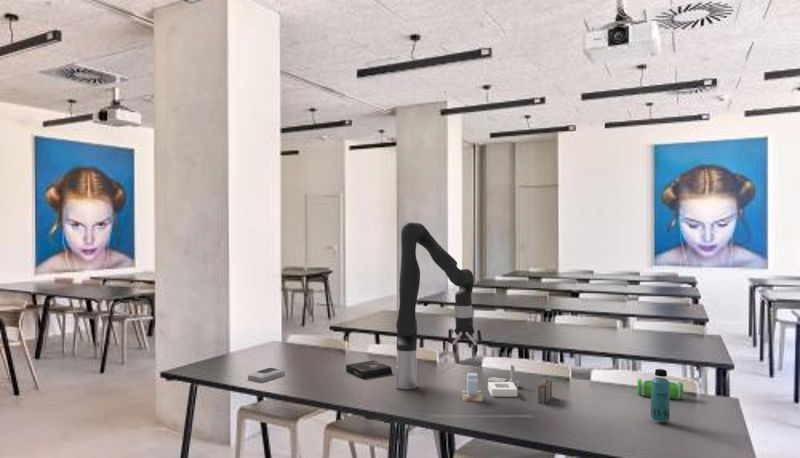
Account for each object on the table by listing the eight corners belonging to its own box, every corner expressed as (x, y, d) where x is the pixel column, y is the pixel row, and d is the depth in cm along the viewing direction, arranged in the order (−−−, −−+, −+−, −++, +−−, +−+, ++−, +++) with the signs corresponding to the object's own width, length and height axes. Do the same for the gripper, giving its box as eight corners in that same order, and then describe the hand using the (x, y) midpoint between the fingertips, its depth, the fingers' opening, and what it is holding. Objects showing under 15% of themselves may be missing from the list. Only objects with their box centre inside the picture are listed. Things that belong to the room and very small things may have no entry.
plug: (467, 399, 236) (468, 375, 236) (466, 396, 240) (467, 373, 240) (477, 399, 236) (477, 375, 236) (476, 396, 240) (476, 373, 240)
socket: (491, 398, 240) (491, 389, 240) (487, 390, 251) (488, 382, 251) (517, 398, 240) (517, 389, 240) (512, 391, 251) (512, 382, 251)
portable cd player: (392, 374, 280) (392, 366, 280) (362, 380, 270) (362, 371, 270) (374, 367, 293) (374, 360, 293) (346, 372, 284) (346, 364, 284)
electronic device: (490, 361, 267) (520, 365, 258) (491, 382, 267) (520, 386, 258) (485, 364, 263) (515, 367, 254) (486, 385, 263) (516, 389, 254)
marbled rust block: (545, 405, 232) (545, 382, 232) (538, 404, 234) (538, 381, 234) (552, 398, 242) (552, 375, 242) (545, 397, 244) (545, 374, 244)
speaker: (681, 396, 244) (681, 379, 244) (683, 401, 237) (683, 383, 237) (637, 392, 250) (637, 375, 250) (638, 397, 243) (638, 380, 243)
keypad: (248, 372, 269) (270, 366, 281) (248, 380, 269) (270, 373, 281) (262, 375, 264) (284, 368, 276) (262, 383, 264) (284, 376, 276)
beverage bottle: (647, 419, 214) (647, 367, 214) (664, 419, 215) (664, 367, 215) (656, 425, 208) (656, 372, 208) (673, 425, 209) (674, 371, 208)
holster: (463, 403, 234) (463, 396, 234) (461, 397, 242) (461, 390, 242) (482, 403, 234) (482, 396, 234) (480, 397, 242) (480, 390, 242)
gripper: (446, 317, 240) (447, 354, 241) (479, 317, 237) (480, 355, 237) (449, 314, 248) (450, 350, 248) (481, 314, 244) (483, 351, 244)
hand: (465, 353), depth 242 cm, fingers open, 8 cm apart
